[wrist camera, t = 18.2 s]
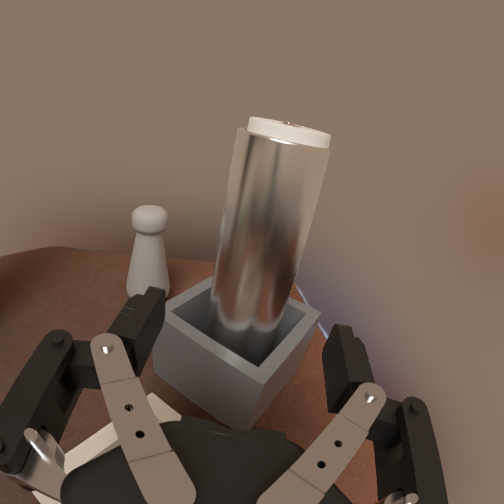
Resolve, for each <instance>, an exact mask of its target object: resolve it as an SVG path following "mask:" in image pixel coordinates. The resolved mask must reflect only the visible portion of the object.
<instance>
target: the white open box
mask: <svg viewBox="0 0 504 504" xmlns="http://www.w3.org/2000/svg"><path fill="white" fill-rule="evenodd" d="M146 397H147V399H148V401H149V404H150V406H151V408H152V410H153V412H154V415H155V417H156V419H157V421H158V423H163V422H167V421H181V417H182V416H181V415H180V414H178V413H177V412H176V411H175V410H173V409H172V408H171V407H169V406H168V405H167V404H166V403H165V402H163V401H162V400H161V399H160V398H158V397H157V396H156V395H155V394H154V393H152V392H151V393H150V394H149V395H148V396H146ZM119 445H120V442H119V439H118V437H117V434H116V431H115V429H114V426H113V423H112V422H111V423H109V424H108V425H106V426H105V427H104V428H102V429H101V430H99V431H98V432H97V433H95V434H94V435H92V436H91V437H89V438H88V439H87V440H85V441H84V442H82V443H81V444H79V445H78V446H76V447H75V448H73V449H72V450H70V451H69V452H68V453H66V454H65V462H64V471H65V474H66V475H67V474H68V473H69V472H70V471H72V470H73V469H75V468H77V467H79V466H81V465H83V464H85V463H87V462H89V461H91V460H93V459H95V458H96V457H98V456H100V455H102V454H104V453H106V452H108V451H110V450H111V449H113V448H115V447H117V446H119ZM32 492H33V494H34V495H35V497H36V498H37V499H38V501H39V502H40V503H41V504H61V503H60V502H58V501H55V500H53V499H51V498H49V497H47V496H45V495H43V494H41V493H39V492H37V491H32Z"/></svg>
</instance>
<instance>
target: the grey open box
mask: <svg viewBox="0 0 504 504" xmlns="http://www.w3.org/2000/svg"><path fill="white" fill-rule="evenodd" d="M212 281H213V275H212V276H211V277H209V278H207V279H205V280H204V281H202V282H200V283H198V284H197V285H195V286H193V287H191V288H190V289H188V290H186V291H184V292H182V293H181V294H179V295H177V296H175V297H174V298H172V299H170V300H168V301H167V302H165V320H164V324H163V327H162V329H161V331H160V333H159V335H158V337H157V340H156V342H155V344H154V346H153V348H152V353H153V371H154V373H156V374H157V375H158V376H159V377H160V378H162V379H163V380H164V381H165V382H167V383H168V384H169V385H170V386H172V387H173V388H174V389H176V390H177V391H178V392H180V393H181V394H182V395H184V396H185V397H186V398H188V399H189V400H190V401H192V402H193V403H194V404H196V405H197V406H199V407H200V408H201V409H203V410H204V411H206V412H207V413H208V414H210V415H211V416H213V417H214V418H216V419H217V420H219V421H220V422H222V423H223V424H225V425H226V426H228V427H229V428H231V429H232V430H235V431H237V430H250V429H251V428H252V427H253V425H254V424H255V423H256V422H257V421H258V419H259V418H260V417H261V416H262V415H263V413H264V412H265V411H266V410H267V408H268V407H269V406H270V405H271V403H272V402H273V401H274V400H275V398H276V397H277V396H278V395H279V393H280V392H281V391H282V389H283V388H284V387H285V386H286V384H287V383H288V382H289V380H290V379H291V378H292V376H293V375H294V374H295V372H296V371H297V370H298V368H299V366H300V364H301V361H302V359H303V357H304V354H305V352H306V350H307V347H308V345H309V343H310V340H311V338H312V336H313V333H314V331H315V328H316V326H317V324H318V321H319V319H320V316H321V314H322V313H321V312H319V311H317V310H315V309H313V308H311V307H309V306H307V305H305V304H303V303H301V302H299V301H297V300H295V299H293V298H291V297H289V298H288V301H287V305H286V308H285V311H284V314H283V317H282V320H281V323H280V326H279V329H278V332H277V335H276V338H275V341H274V344H273V347H272V350H271V353H270V355H269V356H268V357H267V359H266V360H265V361H264V362H263V363H262V364H261V365H260V366H259V367H257V366H255V365H254V364H252V363H250V362H248V361H247V360H245V359H243V358H242V357H240V356H238V355H237V354H235V353H234V352H232V351H230V350H229V349H227V348H225V347H224V346H222V345H221V344H219V343H218V342H216V341H214V340H213V339H211V338H210V337H208V336H207V335H205V332H206V325H207V317H208V310H209V302H210V295H211V288H212Z"/></svg>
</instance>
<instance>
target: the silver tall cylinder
mask: <svg viewBox="0 0 504 504" xmlns="http://www.w3.org/2000/svg"><path fill="white" fill-rule="evenodd" d="M330 138H331V136H330V135H329V134H327V133H324V132H320V131H317V130H314V129H310V128H306V127H303V126H299V125H295V124H293V123H290V122H285V121H284V122H281V121H276V120H271V119H265V118H258V117H250V118H249V124H248V127H245V128H244V129H243V128H238V131H237V137H236V142H235V147H234V153H233V158H232V164H231V169H230V176H229V181H228V187H227V193H226V198H225V205H224V210H223V217H222V223H221V229H220V235H219V241H218V248H217V254H216V261H215V268H214V274H213V281H212V288H211V295H210V302H209V310H208V317H207V325H206V332H205V335H207V336H208V337H210V338H211V339H213V340H214V341H216V342H218V343H219V344H221V345H222V346H224V347H225V348H227V349H229V350H230V351H232V352H234V353H235V354H237V355H238V356H240V357H242V358H243V359H245V360H247V361H248V362H250V363H252V364H254V365H255V366H257V367H259V366H260V365H261V364H262V363H263V362H264V361H265V360H266V359H267V357H268V356H269V355H270V353H271V350H272V347H273V344H274V341H275V338H276V335H277V332H278V329H279V326H280V323H281V320H282V317H283V314H284V311H285V308H286V305H287V301H288V298H289V295H290V292H291V289H292V286H293V283H294V279H295V276H296V273H297V270H298V266H299V263H300V260H301V256H302V253H303V250H304V246H305V243H306V239H307V236H308V233H309V229H310V226H311V222H312V219H313V215H314V212H315V208H316V204H317V201H318V197H319V194H320V190H321V186H322V182H323V179H324V175H325V171H326V167H327V164H328V159H329V156H330V152H331V150H330V147H329V142H330Z"/></svg>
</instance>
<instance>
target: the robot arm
mask: <svg viewBox="0 0 504 504" xmlns="http://www.w3.org/2000/svg"><path fill="white" fill-rule="evenodd" d="M165 300H166V291H165V289H161V288H157V287H153V286H149V287H148V289H147V290H146V292H145V293H144V295H141V294H136V295H134V296H133V297H131V298H130V299H129V300H128V301H127V303H126V304H125V305H124V307H123V308H122V310H121V311H120V313H119V314H118V316H117V317H116V319H115V320H114V322H113V323H112V325H111V326H110V328H109V330H108V331H107V333H104V334H100V335H98V336H96V337H95V338H93V340H92V341H77V340H73V338H72V336H71V334H70V333H69V332H67V331H65V330H53V331H51V332H49V333H48V334H46V336H45V337H44V338H43V340H42V341H41V343H40V344H39V345H38V347H37V348H36V350H35V351H34V353H33V354H32V356H31V357H30V359H29V360H28V362H27V363H26V365H25V366H24V368H23V370H22V371H21V373H20V374H19V376H18V377H17V379H16V381H15V382H14V384H13V386H12V387H11V389H10V391H9V392H8V394H7V396H6V397H5V399H4V401H3V403H2V404H1V406H0V472H1V473H2V474H4V475H5V476H6V477H7V478H9V479H10V480H11V481H13V482H14V483H16V484H18V485H19V486H20V487H22V488H23V489H25V490H27V491H37V492H39V493H41V494H43V495H45V496H47V497H49V498H51V499H53V500H55V501H58V502H60V503H61V504H352V503H351V501H350V500H349V499H348V498H347V497H346V496H345V495H344V494H343V493H342V492H341V491H340V489H339V488H338V487H337V486H336V485H335V484H334V482H335V480H336V479H337V478H338V476H339V475H340V474H341V472H342V471H343V470H344V468H345V467H346V466H347V464H348V463H349V461H350V460H351V459H352V457H353V456H354V454H355V453H356V452H357V450H358V449H359V447H360V446H361V444H362V443H363V441H364V440H365V439H368V440H371V441H373V444H374V453H375V464H376V475H377V489H378V502H376V503H375V504H448V499H447V493H446V487H445V482H444V476H443V471H442V466H441V462H440V457H439V452H438V448H437V444H436V439H435V435H434V431H433V427H432V424H431V420H430V416H429V413H428V409H427V407H426V405H425V403H424V402H423V401H422V400H420V399H419V398H416V397H407V398H406V399H404V401H403V402H398V401H395V400H392V399H389V398H387V397H386V394H385V392H384V390H383V389H382V388H381V387H380V386H378V385H376V384H375V382H374V378H373V374H372V371H371V367H370V363H369V362H368V356H367V352H366V349H365V345H364V344H363V343H362V341H361V340H360V339H359V338H358V337H354V335H353V331H352V328H351V326H348V325H342V324H335V325H334V326H333V328H332V330H331V333H330V335H329V337H328V339H327V341H326V343H325V345H324V348H323V352H322V362H323V370H324V379H325V387H326V396H327V406H328V413H336V414H337V415H336V416H335V418H334V419H333V420H332V421H331V423H330V424H329V425H328V426H327V427H326V428H325V430H324V431H323V432H322V433H321V434H320V436H319V437H318V438H317V439H316V440H315V441H314V442H313V443H312V445H311V446H310V447H309V448H308V449H307V450H306V451H305V450H304V449H303V448H301V447H300V446H299V445H297V444H295V443H294V442H291V441H289V440H286V439H285V432H280V431H271V430H264V429H254V430H237V431H235V430H230V429H228V428H225V427H223V426H221V425H218V424H216V423H214V422H211V421H209V420H206V419H201V418H197V417H193V416H188V415H184V414H182V417H181V421H167V422H163V423H158V421H157V419H156V417H155V415H154V412H153V410H152V408H151V406H150V404H149V401H148V399H147V397H146V395H145V392H144V390H143V388H142V385H141V383H140V380H139V378H138V377H140V375H141V372H142V370H143V368H144V366H145V363H146V361H147V359H148V357H149V355H150V353H151V350H152V348H153V346H154V344H155V342H156V340H157V337H158V335H159V333H160V331H161V329H162V327H163V324H164V320H165ZM137 376H138V377H137ZM83 388H90V389H102V393H103V396H104V399H105V402H106V405H107V408H108V411H109V414H110V417H111V420H112V423H113V426H114V429H115V431H116V434H117V437H118V439H119V442H120V445H119V446H117V447H115V448H113V449H111V450H110V451H108V452H106V453H104V454H102V455H100V456H98V457H96V458H95V459H93V460H91V461H89V462H87V463H85V464H83V465H81V466H79V467H77V468H75V469H73V470H72V471H70V472H69V473H68V474H67V475H66V474H65V471H64V462H65V455H64V452H63V450H62V449H61V447H60V446H59V445H58V444H59V441H60V439H61V436H62V434H63V432H64V429H65V427H66V425H67V422H68V420H69V418H70V416H71V413H72V411H73V409H74V407H75V405H76V402H77V400H78V398H79V396H80V394H81V392H82V390H83Z"/></svg>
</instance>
